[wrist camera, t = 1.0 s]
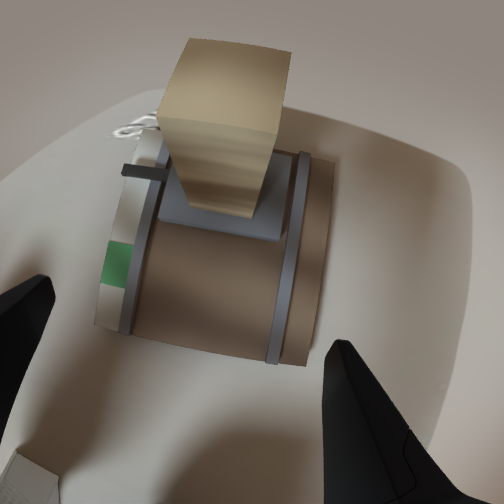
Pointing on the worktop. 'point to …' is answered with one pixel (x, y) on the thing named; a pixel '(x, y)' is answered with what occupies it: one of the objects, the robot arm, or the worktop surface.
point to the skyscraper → (27, 483)
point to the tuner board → (217, 269)
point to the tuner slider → (223, 140)
